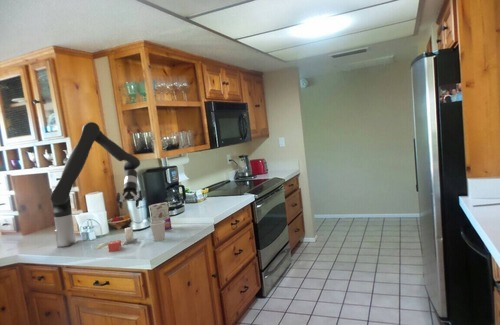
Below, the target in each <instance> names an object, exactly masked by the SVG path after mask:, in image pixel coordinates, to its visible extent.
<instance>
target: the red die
mask: <svg viewBox="0 0 500 325" xmlns="http://www.w3.org/2000/svg"><path fill="white" fill-rule="evenodd" d="M121 241H122V240H120V239H118V240H112V241H109V242H110V243H109V244H108V252H116V251H120V250H121V248H122V245H121Z"/></svg>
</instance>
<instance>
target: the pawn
mask: <svg viewBox="0 0 500 325" xmlns="http://www.w3.org/2000/svg"><path fill="white" fill-rule="evenodd" d="M124 234H125V241H126V243H131V242H134V239H135V238H134V231H133V227H130V226H129V227H126V228H124Z"/></svg>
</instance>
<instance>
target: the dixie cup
mask: <svg viewBox="0 0 500 325" xmlns="http://www.w3.org/2000/svg"><path fill="white" fill-rule="evenodd" d="M149 226H150V229H151V233H152V236H153V240H154V242H162V241H164V240H165V239H166V236H165V235H166V230H165V221H164V220H158V221H153V222H151V221H150V222H149Z"/></svg>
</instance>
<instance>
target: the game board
mask: <svg viewBox="0 0 500 325" xmlns="http://www.w3.org/2000/svg"><path fill="white" fill-rule="evenodd" d="M138 239H139V238H138V237H137V238H136V237H135V238H134V242H131V243H126V239H123V240H121V247H122V246H123V247H124V246H130V245H134V244H136V243H137V241H138ZM110 242H111V241H109V242H102V243H99V244H98V246H96V247H95V249H94V250H95V251H96V250H103V249H107V248H108V244H109V243H110ZM108 249H109V248H108Z"/></svg>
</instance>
